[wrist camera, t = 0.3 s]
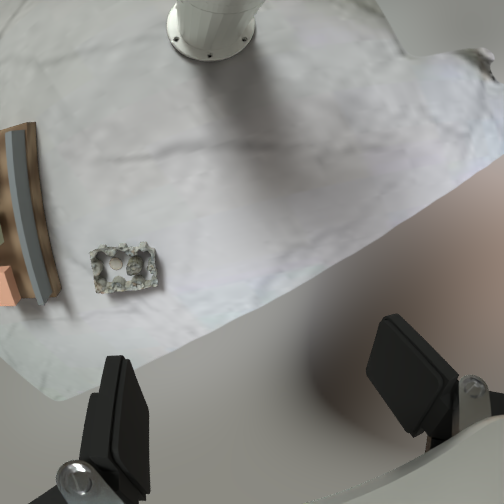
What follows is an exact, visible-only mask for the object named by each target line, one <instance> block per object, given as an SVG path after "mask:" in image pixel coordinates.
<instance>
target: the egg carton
mask: <svg viewBox="0 0 504 504" xmlns="http://www.w3.org/2000/svg"><path fill="white" fill-rule="evenodd" d="M121 249H123V250H121ZM117 250H119V251H120V250H121V251H122V252H125V253H126V255H131V256H133V257H131V258H130V259H129V262H128V264H127V267H126V270H127V274H128V275H130V276H131V275H135V276H134V277H133V278H132V280H131V281H126V280H125V279H124V278H123V277H121V276H117V277H115V278H114V279H113V281H112V282H107V281H106V280H105V279H104V278H102V277H99V275H100V273H101V271H102V269H103V262H102V261H101V260H100V259H97V258H96V257H95V256H96V254H97V252H99V251H101V252H102V251H103V252H104V253H105V254H106V256H113V257H114V256H115V255H116V253H117ZM139 250H140V251H142V252H145V251H148V252H149V253H150V254H151V257H150V259H149V262H148V267H147V270H148V271H150V273H151V274H154V275H153V276H152V279H151V280H145V279H144V277H143V276H141V275H136V274H139V273H140V271H141V269H142V265H143V261H142V259H141V258H140V257H138V256H135V255H137V253H138V251H139ZM155 254H156V253H155V248H151V247H149V246H148V244H147V242H141V243H140V246H139V247H129V248H128V246H127V244H126V243H120V245H119V247H106V245H100V246H99V248H98V249H95V250H93V251H91V252H90V259H91V264H92V269H93V274H94V284H95V289H96V293H101V294H104V293H114V292H115V291H121V292H124V291H131V290H135V291H137V290H141V289H145V288H149V287H151V286H153V287H157V286H158V278H157V273H158V271H157V268H156V266H155ZM109 264H110V267H111V268H112V269H114V270H119V269H121V268H122V266H123V263H122V261H121V260H120V259H119V258H116V257H114V258H112V259H111V260H110V262H109Z"/></svg>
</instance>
